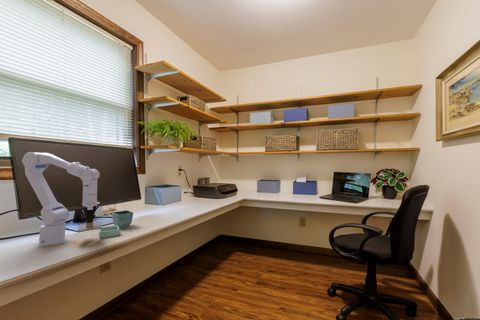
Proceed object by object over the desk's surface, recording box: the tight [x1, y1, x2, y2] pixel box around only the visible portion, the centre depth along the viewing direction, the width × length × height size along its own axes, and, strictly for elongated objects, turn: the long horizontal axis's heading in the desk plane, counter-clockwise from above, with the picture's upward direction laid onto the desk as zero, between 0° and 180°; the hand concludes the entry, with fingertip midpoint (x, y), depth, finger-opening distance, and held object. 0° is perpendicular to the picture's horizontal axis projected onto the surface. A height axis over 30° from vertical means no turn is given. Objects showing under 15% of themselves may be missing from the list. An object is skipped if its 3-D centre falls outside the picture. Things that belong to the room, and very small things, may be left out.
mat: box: [72, 236, 100, 249], centre depth 108 cm, size 10×10×1 cm
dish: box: [97, 225, 121, 240], centre depth 119 cm, size 9×9×4 cm
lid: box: [77, 221, 102, 233], centre depth 109 cm, size 9×9×6 cm
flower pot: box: [111, 210, 134, 230], centre depth 133 cm, size 9×9×9 cm
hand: (89, 222), depth 109 cm, fingers closed on lid, 3 cm apart
